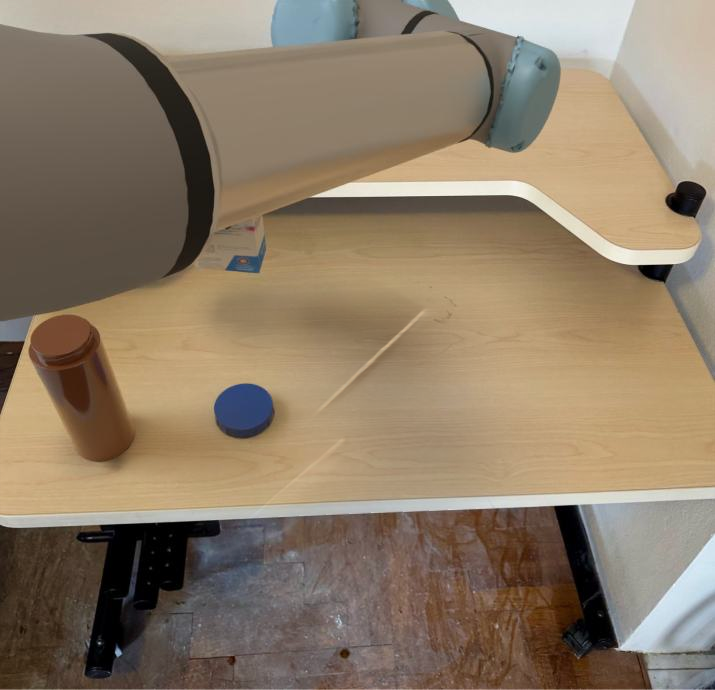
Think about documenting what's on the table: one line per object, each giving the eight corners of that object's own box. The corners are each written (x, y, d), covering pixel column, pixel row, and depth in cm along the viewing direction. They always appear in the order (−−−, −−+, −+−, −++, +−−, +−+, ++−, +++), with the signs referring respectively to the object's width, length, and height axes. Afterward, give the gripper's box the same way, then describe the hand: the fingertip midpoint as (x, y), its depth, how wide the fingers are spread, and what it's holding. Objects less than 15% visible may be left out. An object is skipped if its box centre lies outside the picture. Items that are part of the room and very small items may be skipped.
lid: (248, 382, 84) (247, 374, 83) (285, 414, 81) (284, 405, 80) (203, 414, 81) (201, 405, 80) (240, 448, 78) (239, 439, 77)
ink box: (267, 250, 87) (257, 150, 76) (259, 275, 84) (248, 175, 73) (203, 244, 88) (184, 144, 77) (193, 269, 85) (171, 169, 74)
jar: (95, 472, 75) (47, 371, 62) (63, 437, 78) (10, 334, 65) (146, 435, 79) (110, 333, 66) (113, 404, 82) (72, 300, 69)
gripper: (337, 185, 64) (197, 290, 78) (365, 97, 77) (239, 201, 90) (280, 129, 61) (143, 249, 74) (319, 46, 73) (196, 162, 87)
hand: (196, 222), depth 82 cm, fingers closed on ink box, 5 cm apart
